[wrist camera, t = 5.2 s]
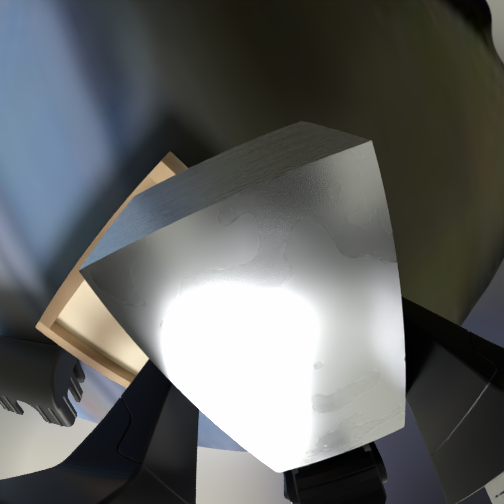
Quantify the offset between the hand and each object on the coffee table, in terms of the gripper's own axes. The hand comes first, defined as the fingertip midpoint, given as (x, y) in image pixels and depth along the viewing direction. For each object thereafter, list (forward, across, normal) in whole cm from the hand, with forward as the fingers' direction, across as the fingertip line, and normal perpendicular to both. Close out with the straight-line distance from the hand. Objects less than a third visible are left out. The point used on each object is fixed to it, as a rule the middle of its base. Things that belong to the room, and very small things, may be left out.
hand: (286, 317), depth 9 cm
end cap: (+11, +22, +11) cm, 27 cm away
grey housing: (+1, 0, 0) cm, 1 cm away
